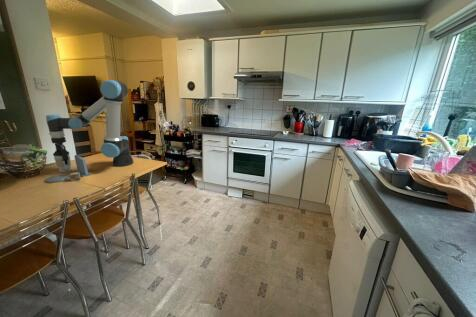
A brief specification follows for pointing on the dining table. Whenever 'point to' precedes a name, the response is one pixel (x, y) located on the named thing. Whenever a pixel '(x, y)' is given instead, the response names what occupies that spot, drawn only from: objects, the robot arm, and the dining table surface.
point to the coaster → (56, 178)
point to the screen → (81, 166)
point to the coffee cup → (59, 161)
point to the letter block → (75, 176)
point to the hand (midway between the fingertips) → (65, 167)
